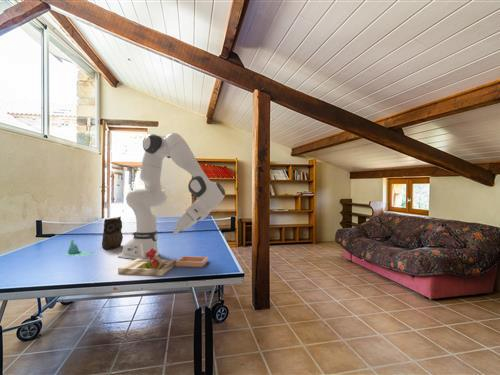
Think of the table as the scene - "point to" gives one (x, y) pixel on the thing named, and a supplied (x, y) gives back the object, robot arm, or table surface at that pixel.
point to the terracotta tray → (191, 261)
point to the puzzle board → (137, 268)
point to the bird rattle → (155, 263)
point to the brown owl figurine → (112, 233)
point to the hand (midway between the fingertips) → (178, 231)
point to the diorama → (76, 250)
